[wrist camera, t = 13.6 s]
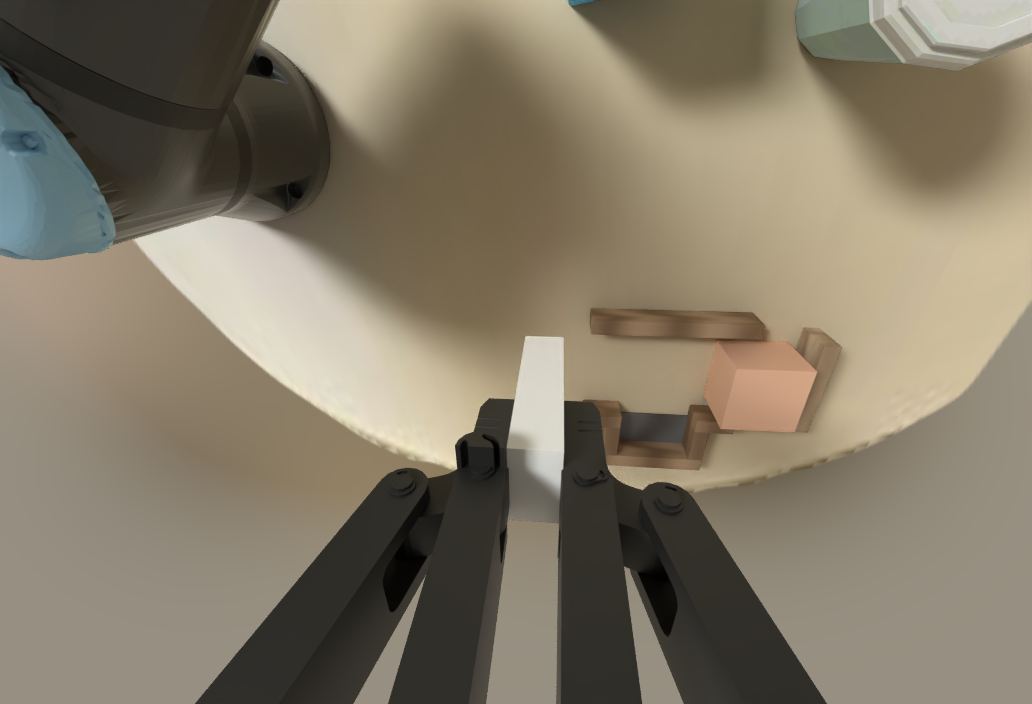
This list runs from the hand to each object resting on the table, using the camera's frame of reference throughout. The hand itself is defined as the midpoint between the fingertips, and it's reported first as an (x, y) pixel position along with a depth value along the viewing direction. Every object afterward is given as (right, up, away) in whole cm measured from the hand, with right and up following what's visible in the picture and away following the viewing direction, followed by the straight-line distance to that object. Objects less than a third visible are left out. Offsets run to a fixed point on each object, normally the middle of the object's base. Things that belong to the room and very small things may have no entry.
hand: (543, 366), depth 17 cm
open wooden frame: (+18, -3, +30) cm, 35 cm away
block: (+23, -1, +29) cm, 37 cm away
